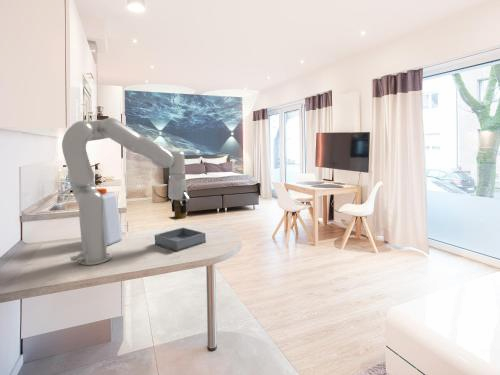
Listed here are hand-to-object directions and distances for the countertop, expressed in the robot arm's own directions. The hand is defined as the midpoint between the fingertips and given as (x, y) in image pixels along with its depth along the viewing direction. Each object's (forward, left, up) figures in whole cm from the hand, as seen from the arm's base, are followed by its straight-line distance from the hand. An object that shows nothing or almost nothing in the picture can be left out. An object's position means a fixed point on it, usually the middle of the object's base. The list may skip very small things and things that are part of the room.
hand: (179, 211), depth 159 cm
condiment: (0, 0, -3) cm, 3 cm away
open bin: (0, 0, -16) cm, 16 cm away
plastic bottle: (-23, +34, -17) cm, 44 cm away
